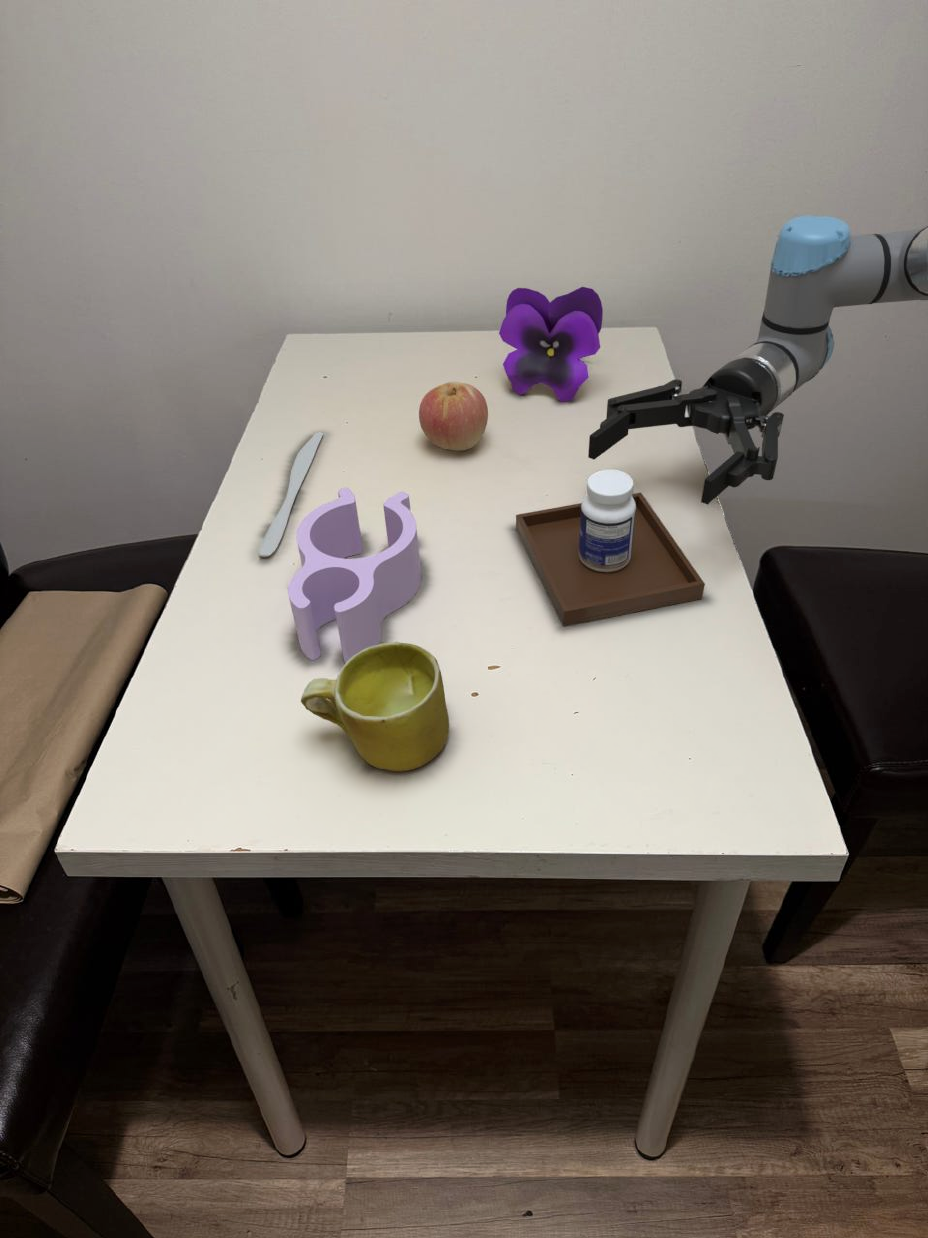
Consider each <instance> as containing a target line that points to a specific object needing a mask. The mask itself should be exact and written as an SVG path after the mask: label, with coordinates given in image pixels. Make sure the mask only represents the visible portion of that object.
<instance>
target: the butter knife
mask: <svg viewBox="0 0 928 1238" xmlns="http://www.w3.org/2000/svg"><path fill="white" fill-rule="evenodd" d="M323 436H324V432H322V431H317V432H316V433H314V434H313V435H312V436H311V437H310V438H309V439H308V440H307V442H306V443H305V444H304V445H303V447H302V448H301V449H300V450H299V451H298V453H297V454H296V457H295V459H294V462H293V464H292V468H291V471H290V476H289V484H288V488H287V492H286V495H285V498H284V501H283V503H282V505H281V507H280V509H279V511H278V512H277V514H276V516H275V517H274V519H273V520H272V522H271V524H270V526H269V528H268V529H267V531H266V533H265V534H264V537H263V539H262V541H261V543H260V545H259V547H258V556H259V557H264V558H265V557H270V556H271V555H272V554H273V553H274V552H275V551H276V550H277V548H278V546H279V544H280V542H281V540H282V537H283V535H284V532H285V529H286V528H287V527H286V526H287V524H288V520H289V516H290V514H291V510H292V507H293V505H294V501H295V499H296V497H297V494H298V492H299V490H300V488H301V486H302V483H303V481H304V479H305V477H306V475H307V473H308V471H309V468H310V466H311V464H312V461H313V460H314V457H315V455H316V452H317V450H318V447H319V444H320V442H321V440H322V438H323Z"/></svg>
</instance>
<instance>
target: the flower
mask: <svg viewBox="0 0 928 1238" xmlns="http://www.w3.org/2000/svg"><path fill="white" fill-rule="evenodd" d="M603 312H604V309H603V304H602V300H601V298H600V296H599V294H598V292H596V291H595V290H594V288H591V287H585V286H580V287H579V288H576V289H574V290H572V291H570V292H568V293H566V294H562V295H559V296H556V297H555V298H554V299H552V300H551V301H550V300H549V299H548V297H547V296H546V295H545V294H543V293H541V292H539V291H537V290H534V289H531V288H527V287H517V288H515V289H513V290H512V291H511V292H510V293H509V295H508V297H507V300H506V307H505V316H504V318H503V319H502V322H501V325H500V329H499V332H498V335H499V337H500V339H501V341H502V342H503V343H505V344H507V345H509V346H510V347H513V348H514V349H515V350H513V351H511V352H508V353H507V356H506V357H505V359H504V362H503V363H502V366H503V369H504V372H505V375H506V377H507V379H508V380H509V382H510V384H511V387H512V390H513V392H515V393H516V394H517V395H519V396H522V395H524V394H525V393H526V392H527V391H528V390H530V389H531V388H532V387H533V386H536V385H541V384H544V385H545V386H548V387H549V388H550V389H551V390H552V392H553V393H554V395H555V396H556V397H557V399H558V401H559V402H562V403H565V402H569V401H570V402H571V401H573V400H574V398H575V396H576V395H577V393H578V391H579V389H580V387H581V386H582V385H584V383H585V382H586V381H587V380H588V379H589V377H590V376H589V369H588V364H587V363H586V362H585V361H584V360H583V358H587V357H591V356H595V355H596V354H597V353H598V351H600V349H601V341H600V336H599V335H600V332H601V331H602V326H603V317H604V316H603V315H604V314H603Z"/></svg>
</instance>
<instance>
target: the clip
mask: <svg viewBox="0 0 928 1238" xmlns="http://www.w3.org/2000/svg"><path fill="white" fill-rule="evenodd" d="M337 495H338V496H337V497H338V498H336V499H333V500H331V501H328V502H326V503H322V504H321V505H319V506H317V507H316V508H315V509H313V510H311V511H310V512H309V513H308V514H306V516H305V517H304V518H303V519H302V520H301V522H300V523H299V525H298V527H297V530H296V535H295V537H296V538H295V539H296V544H297V549H298V554H299V558H300V563H301V568H300V569H299V570H298V571H297V572H296V573H295V574H294V575H293V576H292V578H291V579H290V581H289V583H288V585H287V596H288V600H289V604H290V608H291V614H292V617H293V621H294V627H295V630H296V635H297V638H298V642H299V648H300V650H301V652H302V653H303V655H304V657H306V658H307V659H308V660H309V661H316V660H318V659H319V658H320V657H321V656H322V651H321V646H320V641H319V638H318V637H319V636H318V630H319V629H320V628H321V627H323V626H324V625H325V624H327V623H330V622H333V621H336V626H337V630H338V636H339V641H340V646H341V652H342V657H343V661H344V664H345V663H346V662H347V661H348V660H349V659H350V658H351V657H352V656H354V655H355V654H357V653H359V652H360V651H362V650H363V649H366V648H368V647H371V646H375V645H379V644H380V642H381V639H382V623H383V621H384V620H385V618H386V617H387V616H388V615H390V614H391V613H393V612H395V611H397V610H399V609H400V608H402V607H404V606H405V605H406V604H408V603H409V602H410V601H411V600H412V599H413V597H415V595H416V594H417V593H418V591H419V590H420V587H421V583H422V569H421V559H420V549H419V539H418V537H419V536H418V531H417V530H418V529H417V527H418V526H417V520H416V518H415V516H414V514H413V512H412V511H411V501H410V494H409V493H408V492H407V491H399V492H397V493H395V494H393V495H391V496H390V497H388V498H387V499H386V500H385V501H383V503H382V506H383V513H384V514H383V515H384V522H385V529H386V537H387V546H388V548H386V549H384V550H382V551H380V552H377V553H376V554H373V555H369V556H365V557H364V556H363V557H358V558H349V557H351V556H355V555H360V554H362V553H363V551H364V549H363V541H362V540H363V539H362V534H361V528H360V527H361V526H360V521H359V514H358V513H359V512H358V507H357V501H356V495H355V494H354V492H353V491H352V489H351V488H350V487H346V486H345V487H342V488H339V489H338V490H337Z"/></svg>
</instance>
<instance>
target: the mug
mask: <svg viewBox="0 0 928 1238" xmlns="http://www.w3.org/2000/svg"><path fill="white" fill-rule="evenodd" d="M438 662H439V661H438V659H437V658H436V657H435V656H434V655H433V654H432V653H431V652H430V651H428V650H427V649H425V648H423V647H421V646H419V645H416V644H414V643H409V642H401V641H391V642H390V641H389V642H384V643H379V644H378V645H375V646H371V647H368V648H366V649H363V650H362V651H360V652H359V653H357V654H355V655H354V656H352V657H351V658H350V659H349V660H348V661H347V662H346V663H345V662H344V665H343V666H342V667H341V669H340V671H339V673H338V674H337V678H335V679H329V678H325V677H322V678H321V677H320V678H319V677H318V678H314V679H312V680H311V681H309V682H308V684H307V685H306V687H305V688H304V691H303V692H302V695H301V698H300V703H301V704H302V705H303V706H304V708H305V709H306V710H307V711H309V712H311V713H312V714H313V715H315V716H317V717H319V718H321V719H322V720H325V721H329V722H330V723H333V724H335V725H337V726H338V727H340V728H341V729H342V731H343V732H344V733H345V734H346V735H347V736H348V737H347V738H349V739H350V740H351V741H352V743H353V745H354V748H355V750H356V751H357V752H358V754H359V755H360V756H361V758H362V759H363V760H364V761H365V763H367V764H369V765H371V766H372V767H374V768H377V769H380V770H387V771H388V770H389V771H391V772H392V771H393V772H406V771H411V770H416V769H418V768H420V767H423V766H425V765H426V764H428V763H429V762H430V761H433V759H434V758H435V757H436V756H437V755H439V753H440V752H441V751H442V750H443V749H444V747H445V745H446V743H447V741H448V738H449V734H450V718H449V712H448V707H447V703H446V702H447V701H446V695H445V688H444V687H445V686H444V681H443V675H442V671H441V668H440V665H439V663H438Z"/></svg>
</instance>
